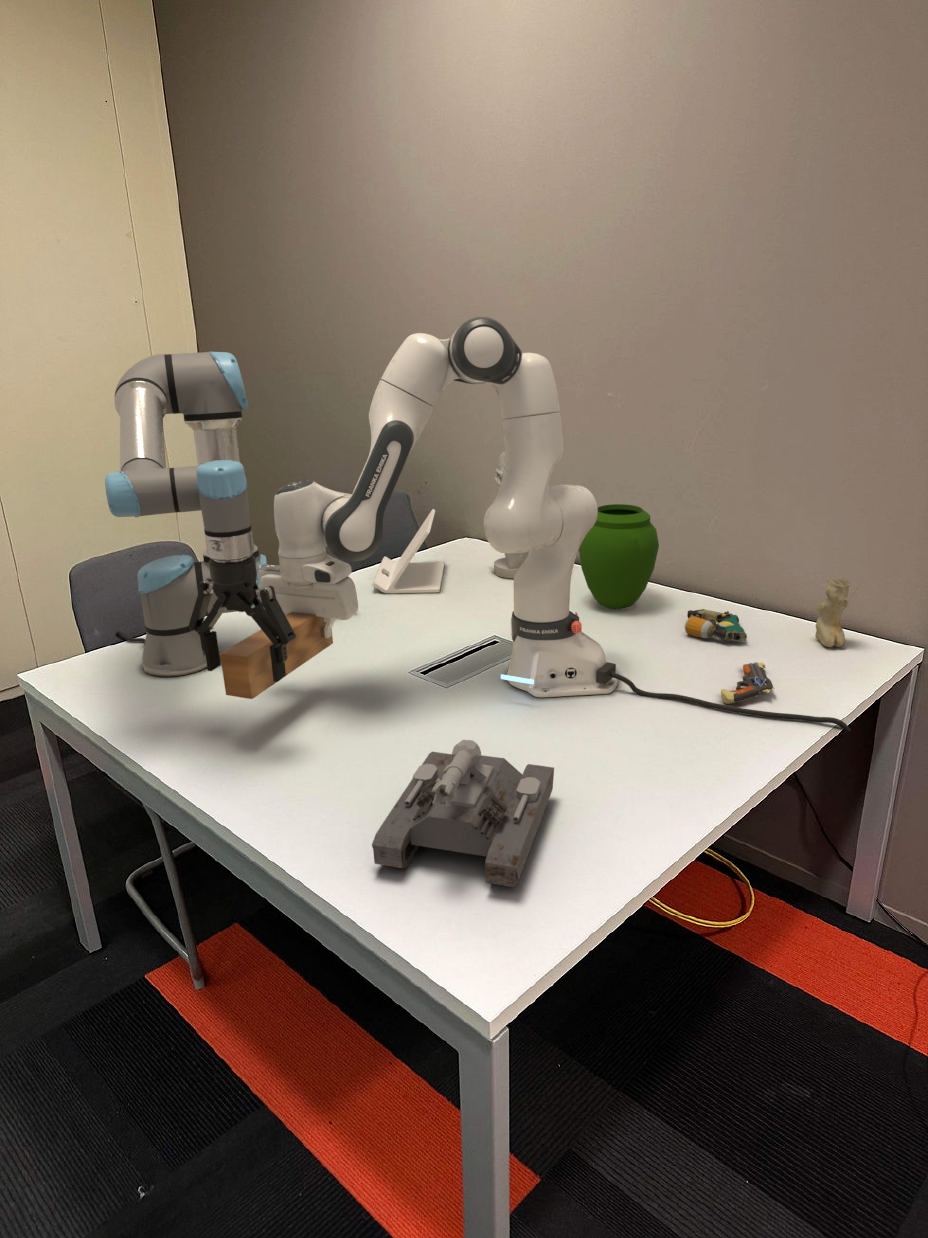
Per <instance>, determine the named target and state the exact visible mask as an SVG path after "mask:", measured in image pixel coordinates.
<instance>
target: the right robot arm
mask: <svg viewBox="0 0 928 1238" xmlns="http://www.w3.org/2000/svg"><path fill="white" fill-rule="evenodd" d="M453 381H454V382H459V383H464V384H469V385H483V384H489V385H490V386H492V388H493V389H494V391H495V392H496V394H497V397H498V401H499V406H500V408H499V409H500V419H501V427H502V428H501V429H502V437H503V450H504V451H503V452H504V453H505V464H504V472H503V477H502V482H501V485H500V486H499V488H498V491H497V494H496V496H495V498H494V500H493V501H492V502H491V504H490V506H488V508H487V509H486V511H485V513H484V516H483V522H482V523H483V533H484V536H485V539H486V540H487V542H488V544H489V545H490V546H491V547H492V548H493V550H495V551H497V552H498V553H501V554H505V553H526V552H529V553H528V555H527V557H526V559H525V561H524V562H523V564H522V565H521V566H520V567H519V568H518V570H517V571H516V573H515V576H514V578H513V611H512V612H511V618H510V635H511V640H512V645H511V646H512V647H511V655H510V660H509V665H508V669H507V672H506V674H500V679H501V680H505V681H507V683H509V684H510V685H511V686H513V687H515V688H517V689H519V690H522V691H525V692H527V693H529V694H530V695H531V696H533V697H535V698H556V697H572V696H573V697H574V696H588V695H589V696H590V695H591V696H592V695H607V694H611V693H612V692H613V691H615V690H616V688H617V686H618V681H620V682H622V683H624V684H625V685H627V686H628V687H629V688H630V689H631V690H632V692H633V693H635V694H637V695H639V696H642V697H647V698H652V699H662V700H663V699H666V700H676V701H682V702H686V703H691V704H694V705H699V706H702V707H705V708H710V709H715V710H719V711H725V712H730V713H736V714H741V715H747V716H748V715H749V716H753V717H754V716H756V717H762V718H769V719H779V720H780V719H782V720H791V721H793V720H794V721H804V722H811V723H819V724H820V723H821V724H834V725H837V726H838V727H840V728H841V729H842V730H843V731H845V732H852V729H851V728H850V726H849V725H848V724H847V723H845V722H844V721H843V720H841V719H839V718H836V717H831V716H814V715H813V716H812V715H806V714H805V715H804V714H795V713H783V712H771V711H766V710H764V711H763V710H757V709H750V708H745V707H739V706H738V707H737V706H731V705H728V704H720V703H716V702H711V701H707V700H703V699H699V698H696V697H691V696H687V695H682V694H677V693H663V692H649V691H645V690H642V689H640V688H639V687H637V686H636V684H635V683H634V682H633V681H632V680H631V679H629V678H628V677H626V676H624V675H621V674H619V673H617V664H616V663H613V662H608V661H607V658H606V654H605V651H604V648H603V647H602V645H601V644H600V643H599V642H598V641H596V640H595V639H593V638H591V637H590V636H589V635H587V634H586V633H585V632H583V631H582V630H583V626H582V625H583V624H582V622H581V621H580V616H579V615H578V612H577V611H575V613H574V612H573V611H571V610H570V600H571V581H572V574H573V569H574V565H575V563H576V559H577V555H578V554H579V548H580V546H581V544H582V542H583V540H584V538H585V536H586V535H587V533H588V532H589V531H590V529H591V528H592V527H593V526H594V524H595V522H596V519H597V514H598V509H597V508H598V504H597V500H596V498H595V496H594V495H593V493H592V491H590V490H589V489H588V488H587V487H585V486H583V485H576V484H558V485H557V484H556V485H553V486H550V483H551V478H552V475H553V472H554V470H555V468H556V466H557V465H558V464H559V463H560V461H561V460H562V458H563V456H564V453H565V444H564V443H565V442H564V432H563V423H562V413H561V404H560V398H559V392H558V387H557V382H556V378H555V374H554V371H553V368H552V365H551V362H550V361H549V360H548V358H546V357H545V356H543V355H542V354H540V353H536V352H522V350H521V348H520V347H519V345H518V344H517V343H516V341H515V340H514V338H513V337H512V335H511V334H510V332H509V331H508V329H507V328H506V327H505V326H504V325H503V324H502V323H501V322H500V321H498V320H496V319H494V318H491V317H488V316H476V317H472V318H469V319H468V320H466V321H464V322H463V323H462V324H461V325H460V326H458V328H457V329H456V330H455V331H454V332H453V334H452V335H451V336H450V337H448V338H446V339H443V338H438V337H436V336H434V335H432V334H428V333H424V332H416V333H412V334H410V335H409V336H407V337H406V338H405V339H404V340H403V342H402V344H401V345H400V346H399V347H398V349H397V350H396V352H395V353H394V354H393V356H392V358H391V360H390V361H389V363H388V365H387V366H386V368H385V370H384V372H383V374H382V376H381V378H380V380H379V382H378V384H377V386H376V389H375V391H374V394H373V397H372V399H371V404H370V406H369V411H368V422H369V429H370V441H371V442H370V449H369V454H368V457H367V459H366V462H365V464H364V466H363V468H362V470H361V473H360V475H359V478H358V480H357V482H356V484H355V487H354V489H353V491H352V494H351V493H346V492H341V491H337V490H333V489H330V488H328V487H325V486H323V485H320V484H319V483H317V482H316V481H315V480H313V479H298V480H293V481H290V482H288V483H285V484H284V485H282V486H281V487H279V488H278V489H277V491H276V492H275V493H274V498H273V516H274V517H273V519H274V529H275V534H276V536H277V539H278V551H277V554H278V562H279V563H278V564H269V563H267V564H265V565H264V566H262V567H261V568H260V569H259V571H258V577H259V588H266V587H268V586H273V587H274V590H275V595H276V599H277V601H278V603H279V605H280V607H281V608H282V610H283V612H284V614H285V615H287V614H289V613H290V612H296V613H306V614H315V615H316V616H317V617H323V618H324V622H327V623H326V625H325V627H324V628H322V629H320V633H321V637H322V638H329V637H331V635H332V636H333V630H332V631H331V627H332V628H333V626H334V624H335V621H336V619H337V620H349V619H351V618H353V617H355V615H356V614H357V613H358V611H359V600H358V593H357V588H356V584H355V582H354V580H353V579H352V578H351V577H350V575H351V574H352V572H353V570H352V566H351V565H350V564H349V563H348V562H360V561H363V560H366V559H368V558H370V557H371V556H372V555H374V554H375V552H376V551H377V550H378V549H379V547H380V545H381V542H382V539H383V531H384V530H383V529H384V516H385V511H386V509H387V506H388V505H389V501H390V499H391V497H392V494H393V492H394V490H395V487H396V485H397V483H398V480H399V478H400V476H401V474H402V471H403V469H404V466H405V465H406V462H407V459H408V457H409V455H410V454H411V452H412V450H413V448H414V447H415V445H416V443H417V441H418V440H419V438H420V436H421V434H422V432H423V431H424V429H425V427H426V425H427V423H428V422H429V420H430V419H431V416H432V415H433V413H434V410H435V408H436V406H437V404H438V402H439V400H440V398H441V395H442V394H443V392H444V390H445V389H446V387H447V386H448V385H449V384H450V383H451V382H453ZM326 548H328V549H329V551H330V552H331V553H332V555H333V556H331V555H330V554H328V553H327V549H326ZM334 556H335V557H334ZM336 557H337V558H336ZM342 560H343V561H342ZM345 561H346V562H345ZM261 602H262V601H261ZM263 608H264V607H263Z"/></svg>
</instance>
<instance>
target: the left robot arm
mask: <svg viewBox="0 0 928 1238" xmlns="http://www.w3.org/2000/svg"><path fill="white" fill-rule="evenodd" d="M114 408H115V410H116V412H117V414H118V416H119V470H118V471H115V472H109V473H107V474H106V475H105V477H104V486H105V495H106V501H107V505H108V509H109V512H110V513H111V515H112V516H114V517H116V518H131V517H132V518H133V517H135V518H140V517H145V516H147V517H148V516H155V515H164V514H165V515H166V514H173V513H188V512H200V511H201V517H202V522H203V532H204V537H205V546H206V548H205V549H204V551H202V558H203V561H194V558H193V557H192V556H191V555H189V554H175V555H168V556H164V557H160V558H158V559H155V560H151V561H150V562H148V563H145V564H144V565H143V566H142V567H141V568H140V569H139V570H138V572H137V575H136V576H137V586H138V589H137V592H138V594H139V597H140V603H141V609H142V610H141V611H142V616H143V622H144V627H145V633H146V634H145V638H142V637H129V636H128V635H126V634H125V633H124V632H123V631H122V630H117V631H116V632H115V634H114V636H115V637H117V636H120V637H121V638H123V639H124V640H126V641H128V642H140V643H141V642H142V643H143V652H142V658H141V664H142V669H143V671H144V672H145V673H146V674H148V675H151V676H156V677H178V676H186V675H189V674H193V673H197V672H201V671H202V670H204V669H206V668H207V672H212V671H214V670H216V669H217V668H219V667H221V666H222V664H221V657H220V649H219V643H218V636H217V631H216V630H214V629H215V628H214V627H215V625H216V623H217V622H218V621H219V620H220V618H221V616H223V614H227V613H228V614H229V613H237V612H239V613H245V614H246V616H248V617H251V618H252V620H253V621H254V622H255V623H256V625H257V626H258V627H259V628H260V630H261V629H262V631H263V632H264V633H265V634H266V636H267V637H268V638H269V639H270V641H271V642H272V643H273V645H271V646H270V655H271V663H272V672H273V680H274V682H276V683H279V682H280V681H281V680H282V679H284V678H286V677H287V676H286V670H285V661H286V660H287V658H288V656H287V647H286V644H288V643H290V642H291V641H292V640H294V639H295V638H296V635H295V633H294V631H293V629H292V627H291V625H290V623H289V621H288V620H287V618H286V616H285V614H284V612H283V610H282V608H281V607H280V605H279V603H278V601H277V599H276V595H275V590H274V587H273V586H268V587H266V588H259V577H258V571H259V569H260V568H261V567H262V566H264V565H265V564H268V560H267V556H266V555H265V554H262V553H261V554H260V553H259V552H260V551H259V547H258V546H257V545H256V544H255V543H254V535H253V529H252V524H251V513H250V502H249V495H248V481H247V477H246V473H245V467H244V465H243V464H242V462H241V457H240V448H239V440H238V433H237V426H238V425H239V424H240V423H241V422H242V420H243V413H242V411H245V410H248V409H249V402H248V398H247V394H246V389H245V385H244V381H243V377H242V373H241V370H240V367H239V364H238V360H237V359H236V356H234V354H232V353H230V352H227V351H212V350H211V351H206V352H205V351H203V352H185V353H183V352H181V353H169V354H167V353H161V354H159V353H158V354H154V355H150V356H147V357H145V358H142V359H141V360H139V361H138V362H136V363H134V364H132V366H131V367H130V368H129V369H127V370H126V371H125V372H124V374H122V376H121V378H120V379H119V381H118V383H117V385H116V387H115V390H114ZM172 414H174V415H178V414H179V415H180V414H183V422H184V424H186V425H187V427H189V428H190V429H191V430H192V432H193V437H194V447H195V453H196V459H197V465H190V466H180V467H179V466H178V467H167V461H166V448H165V447H166V446H165V431H164V418H165V416H166V415H172ZM261 601H262V602H261ZM263 607H264V608H263ZM277 637H278V638H277Z"/></svg>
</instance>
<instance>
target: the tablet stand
mask: <svg viewBox="0 0 928 1238" xmlns="http://www.w3.org/2000/svg"><path fill="white" fill-rule="evenodd" d="M435 514H436V509H434V508H432V509H431V511H430V512H429V514H428V515H427V517H426V518H425V520H424V521H423V523H422V524H421V526H420V527H419V528H418V530H417V532H416V533H415V535H414V536H413V537H412V539H411V541H410V542H409V544H408V545H407V546H406V548H405V549H404V551H403V553H402V554H401V556H400V557H399V558H398V560H397V562H395V561H394V560H392V559H391V558H389V557H387V556H383V558H382V559H381V562H380V564H379V567H378V569H377V571H376V574H375V576H374V578H373V581H372V584H371V585H372V586H373V587H374V588H376V589H377V590H379V591H380V592H382V593H383V594H418V593H419V594H422V593H425V594H426V593H428V594H429V593H440V592H441V587H442V581H443V576H444V570H445V562H444V561H427V562H424V561H423V562H422V561H421V562H419V561H418V562H411V561H412V559H413V558H414V556H415V555H416V553H418V551H419V549H420V548H421V546H422V544H423V543H424V542H425V540H426V538H427V537H428V536H429V534H430V532H431V529H432V526H433V521H434V517H435Z"/></svg>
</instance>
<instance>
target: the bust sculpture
mask: <svg viewBox="0 0 928 1238" xmlns="http://www.w3.org/2000/svg"><path fill="white" fill-rule="evenodd" d="M504 464H505V453H504V451H502V452H501V454H500V455H499V457H498V459H497V461H496V468H495V471H494V480H495V482H496V484H497V486H498V487H500V485H501V482H502V477H503V472H504ZM528 553H529V552H526V553H504V557H502V558H498V559H496V560H495V561H494V562H493V573H494V574H495V575H496V576H497V577H500V578H506V579H514V576H515V573H516V571H517V570H518V568H519V567H520V566H521V565H522V564H523V562H524V561H525V559H526V557H527V555H528Z"/></svg>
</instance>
